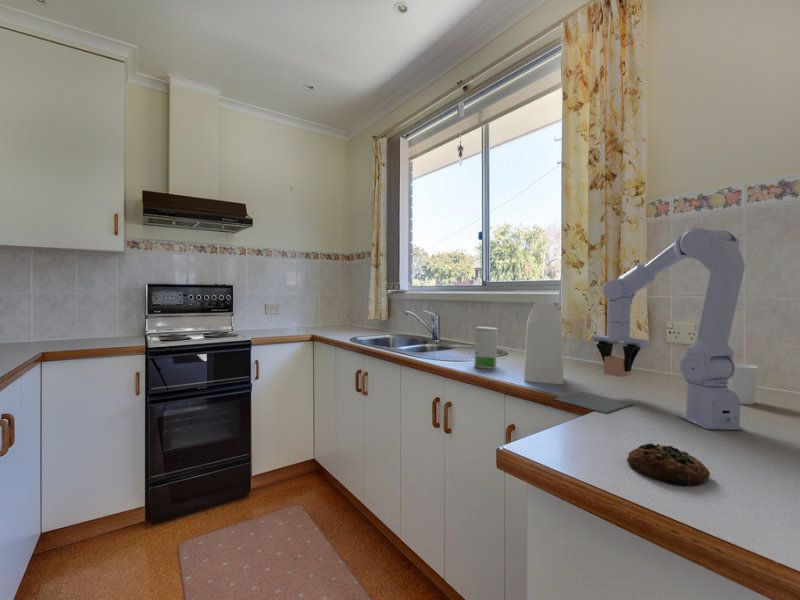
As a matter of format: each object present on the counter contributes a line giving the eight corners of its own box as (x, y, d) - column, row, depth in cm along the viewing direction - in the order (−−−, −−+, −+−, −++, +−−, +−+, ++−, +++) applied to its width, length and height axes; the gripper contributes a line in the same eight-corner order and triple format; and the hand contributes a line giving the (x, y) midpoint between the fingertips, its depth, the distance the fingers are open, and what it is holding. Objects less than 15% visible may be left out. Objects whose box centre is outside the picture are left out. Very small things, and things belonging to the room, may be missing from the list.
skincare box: (474, 367, 148) (474, 327, 147) (475, 364, 154) (476, 326, 154) (496, 369, 145) (497, 328, 145) (497, 366, 151) (497, 327, 151)
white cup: (746, 398, 108) (747, 363, 107) (764, 406, 100) (765, 368, 100) (713, 396, 110) (714, 361, 110) (728, 403, 102) (729, 366, 102)
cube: (630, 375, 108) (631, 357, 108) (622, 377, 106) (622, 359, 105) (612, 372, 112) (613, 355, 112) (604, 373, 110) (604, 356, 110)
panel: (633, 404, 100) (633, 403, 100) (605, 413, 92) (605, 412, 92) (582, 392, 112) (582, 391, 111) (554, 399, 104) (554, 398, 104)
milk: (524, 381, 126) (525, 302, 125) (523, 374, 137) (525, 302, 136) (563, 384, 122) (565, 303, 122) (559, 376, 133) (561, 302, 133)
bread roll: (645, 483, 58) (645, 449, 58) (615, 462, 69) (616, 433, 69) (727, 494, 56) (726, 459, 57) (683, 470, 67) (683, 440, 67)
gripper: (652, 323, 105) (651, 372, 105) (600, 320, 117) (599, 364, 117) (641, 324, 101) (639, 375, 101) (588, 320, 113) (587, 366, 113)
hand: (617, 369), depth 109 cm, fingers closed on cube, 5 cm apart
